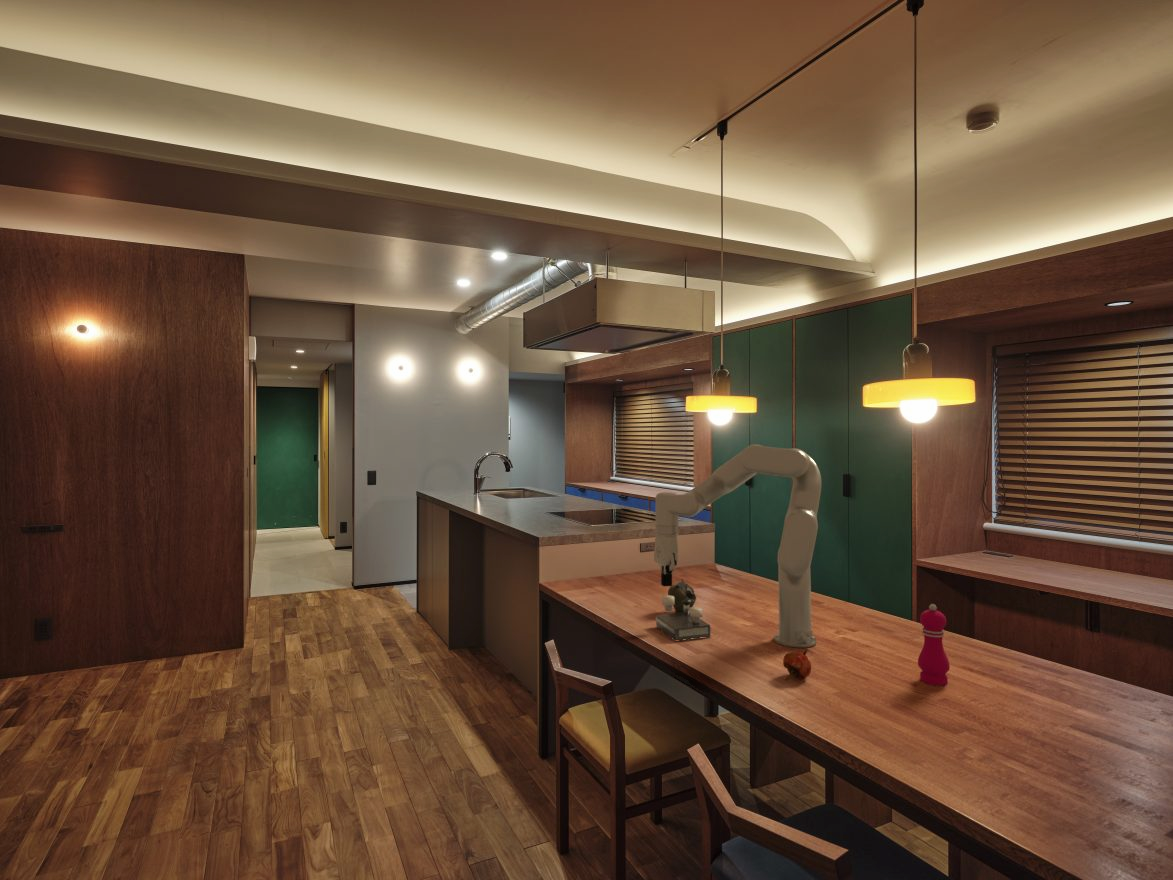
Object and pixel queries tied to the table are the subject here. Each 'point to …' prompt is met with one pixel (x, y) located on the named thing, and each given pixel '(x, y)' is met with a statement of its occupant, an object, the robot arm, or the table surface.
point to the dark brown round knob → (686, 605)
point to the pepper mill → (933, 648)
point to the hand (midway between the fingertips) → (666, 585)
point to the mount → (682, 626)
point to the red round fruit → (797, 664)
